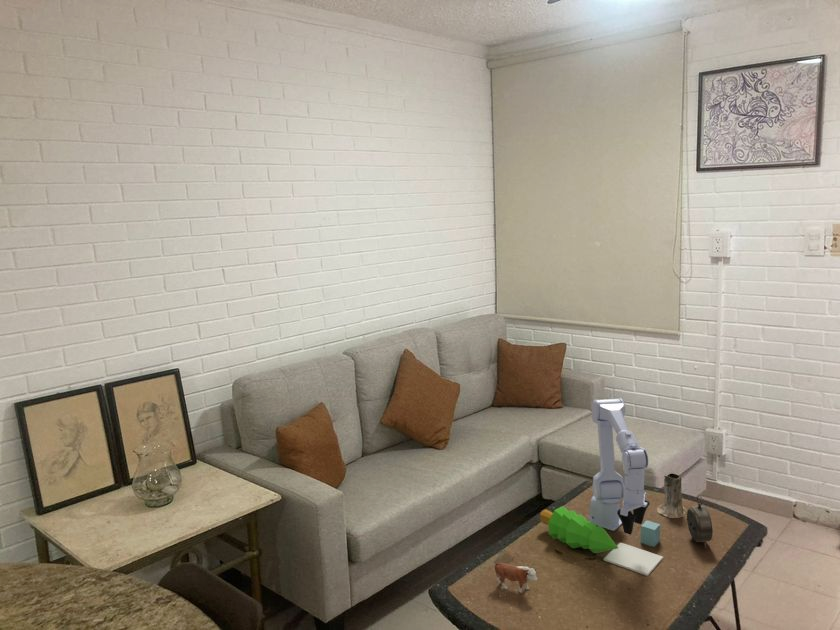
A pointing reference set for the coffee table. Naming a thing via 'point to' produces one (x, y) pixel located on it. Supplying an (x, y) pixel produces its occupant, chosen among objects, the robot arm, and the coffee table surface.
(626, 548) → the off-white tile
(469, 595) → the coffee table surface
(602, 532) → the decorative tree
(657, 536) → the teal block
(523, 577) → the bull figurine
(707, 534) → the alarm clock
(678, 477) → the tree stump
